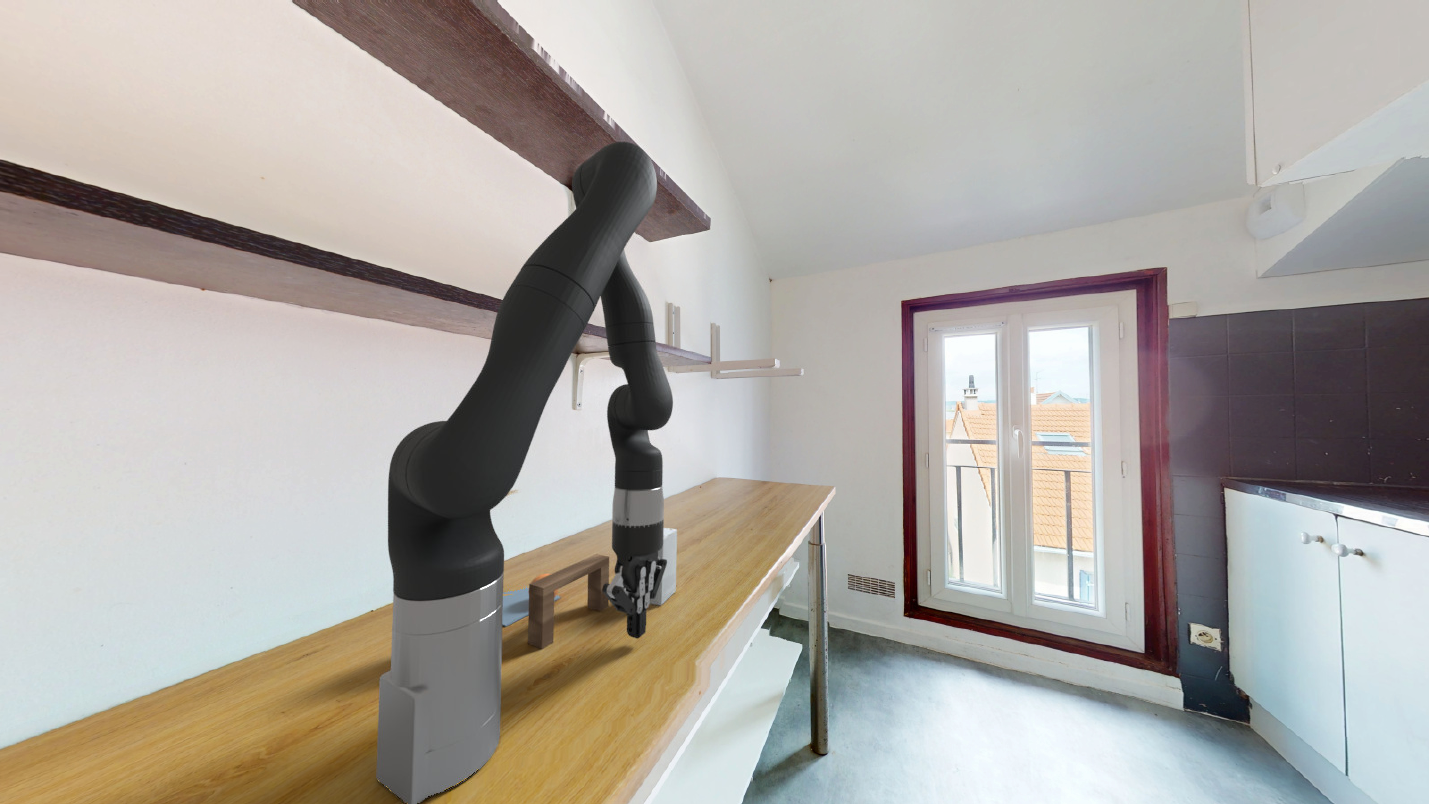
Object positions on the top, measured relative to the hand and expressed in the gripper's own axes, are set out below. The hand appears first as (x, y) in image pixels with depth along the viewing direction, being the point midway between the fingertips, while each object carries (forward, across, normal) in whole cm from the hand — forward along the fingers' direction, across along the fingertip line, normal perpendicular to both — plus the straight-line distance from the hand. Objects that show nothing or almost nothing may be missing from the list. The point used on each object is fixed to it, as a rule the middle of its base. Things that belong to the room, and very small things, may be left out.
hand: (636, 634), depth 58 cm
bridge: (+2, 0, +13) cm, 13 cm away
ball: (-1, +3, +23) cm, 23 cm away
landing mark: (+2, 0, +27) cm, 27 cm away
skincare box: (+2, +14, +5) cm, 15 cm away
